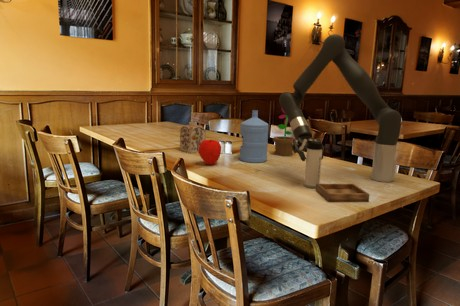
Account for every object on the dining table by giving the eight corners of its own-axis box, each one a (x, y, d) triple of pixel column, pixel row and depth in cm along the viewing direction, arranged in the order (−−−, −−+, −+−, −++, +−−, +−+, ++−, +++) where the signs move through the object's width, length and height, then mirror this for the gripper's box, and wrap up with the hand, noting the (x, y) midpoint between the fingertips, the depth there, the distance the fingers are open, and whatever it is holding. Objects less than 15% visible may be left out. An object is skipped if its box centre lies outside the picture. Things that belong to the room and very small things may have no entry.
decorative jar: (179, 150, 223) (179, 121, 219) (194, 148, 230) (194, 120, 227) (190, 153, 214) (190, 123, 210) (205, 151, 222) (206, 122, 218)
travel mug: (301, 184, 157) (305, 139, 153) (316, 184, 158) (320, 139, 154) (305, 188, 151) (309, 141, 147) (320, 188, 152) (324, 142, 148)
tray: (352, 190, 150) (353, 183, 150) (368, 201, 137) (369, 194, 136) (315, 190, 149) (316, 183, 148) (328, 201, 135) (329, 194, 134)
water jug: (271, 159, 204) (274, 110, 199) (258, 164, 192) (260, 112, 186) (248, 155, 213) (250, 108, 207) (233, 160, 200) (235, 110, 195)
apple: (194, 164, 186) (194, 139, 184) (206, 160, 197) (206, 136, 194) (213, 168, 181) (214, 142, 178) (224, 163, 191) (225, 139, 189)
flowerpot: (298, 154, 223) (302, 105, 217) (291, 158, 211) (294, 106, 205) (276, 151, 230) (279, 104, 224) (268, 155, 217) (271, 105, 211)
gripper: (290, 124, 155) (302, 155, 147) (318, 124, 160) (331, 154, 152) (283, 134, 161) (294, 165, 153) (310, 134, 166) (323, 163, 158)
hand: (313, 159), depth 152 cm, fingers open, 8 cm apart
